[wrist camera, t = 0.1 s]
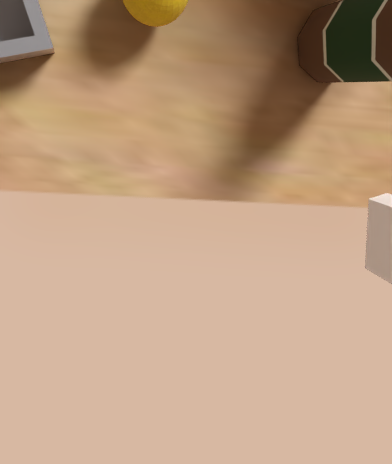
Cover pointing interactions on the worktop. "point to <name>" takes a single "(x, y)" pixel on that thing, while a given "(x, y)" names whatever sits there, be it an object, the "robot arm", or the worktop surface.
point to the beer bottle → (348, 42)
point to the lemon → (155, 10)
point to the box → (22, 31)
